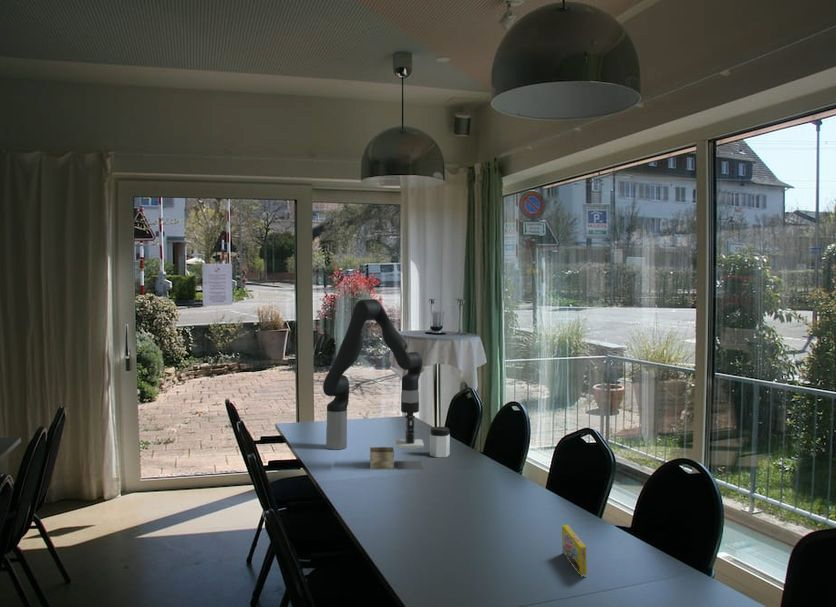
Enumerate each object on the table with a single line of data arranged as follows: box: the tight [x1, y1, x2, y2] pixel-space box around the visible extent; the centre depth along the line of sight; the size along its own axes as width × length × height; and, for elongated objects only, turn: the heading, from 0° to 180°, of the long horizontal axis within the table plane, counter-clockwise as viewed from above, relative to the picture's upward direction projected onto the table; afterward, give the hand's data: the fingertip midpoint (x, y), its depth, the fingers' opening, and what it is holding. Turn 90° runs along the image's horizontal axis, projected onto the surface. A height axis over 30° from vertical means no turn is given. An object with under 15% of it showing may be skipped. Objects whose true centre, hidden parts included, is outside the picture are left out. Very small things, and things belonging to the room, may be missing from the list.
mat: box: [396, 460, 424, 470], centre depth 289 cm, size 10×13×1 cm
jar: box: [429, 426, 451, 458], centre depth 307 cm, size 9×8×12 cm
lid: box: [395, 429, 425, 450], centre depth 288 cm, size 11×11×7 cm
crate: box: [369, 446, 395, 470], centre depth 288 cm, size 10×10×7 cm
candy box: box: [561, 524, 587, 575], centre depth 190 cm, size 16×2×8 cm, turn 5°
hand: (409, 441), depth 288 cm, fingers closed on lid, 3 cm apart
